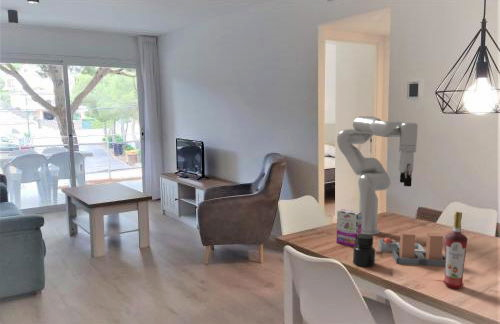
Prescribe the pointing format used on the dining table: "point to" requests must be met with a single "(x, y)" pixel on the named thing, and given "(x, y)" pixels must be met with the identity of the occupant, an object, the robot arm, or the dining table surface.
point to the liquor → (455, 254)
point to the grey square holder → (387, 246)
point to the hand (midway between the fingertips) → (405, 184)
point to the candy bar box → (348, 227)
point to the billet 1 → (407, 244)
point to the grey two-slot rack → (418, 259)
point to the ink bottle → (364, 251)
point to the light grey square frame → (415, 247)
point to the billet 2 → (434, 246)
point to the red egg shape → (387, 240)
